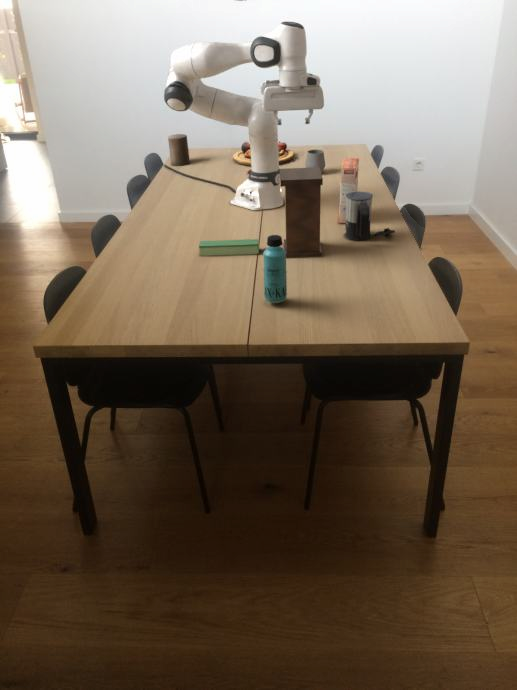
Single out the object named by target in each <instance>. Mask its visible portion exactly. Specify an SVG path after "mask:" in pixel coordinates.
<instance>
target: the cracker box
mask: <svg viewBox="0 0 517 690" xmlns="http://www.w3.org/2000/svg"><path fill="white" fill-rule="evenodd" d="M359 163H360V158H358V157H357V158H356V157H343V161H342V165H341V167H340V168H341V169H340V189H339V208H338V209H339V211H338V212H339V213H338V224H346V205H347V197H346V194H348V193H350V192H358V184H359V169H360V168H359V167H360V164H359Z"/></svg>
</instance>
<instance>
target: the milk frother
mask: <svg viewBox="0 0 517 690" xmlns="http://www.w3.org/2000/svg"><path fill="white" fill-rule="evenodd" d="M346 197H347V205H346V223H345V229H344V230H345V231H344V232H345V233H344V238H346V239H348V240H352V241H365V240H368V239H370V238H371V237H377V236H385V237H388V236H390V235H392V234H395V233H396V230H395V229H390V228H389V227H387V228H384V230H381V231H377V232H374V233H373V234H372V233H371V219H372V203H373V197H374V194H373V193H371V192H368V191H361V190H360V191H358V190H357V192H350V193H348V194H346Z"/></svg>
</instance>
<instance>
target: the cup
mask: <svg viewBox="0 0 517 690" xmlns="http://www.w3.org/2000/svg"><path fill="white" fill-rule="evenodd" d="M305 157H306V158H305V168H312V167H320V170H321V174H322V173H323V172H324V170H325V167H326V159H325V152H324V150H322V149H309V150H307V152H306V156H305Z"/></svg>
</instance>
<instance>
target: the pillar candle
mask: <svg viewBox="0 0 517 690" xmlns="http://www.w3.org/2000/svg"><path fill="white" fill-rule="evenodd" d="M167 140H168V149H169V158H170V164H171V165H172V166H176V167H180V166H188V165H190V161H191V160H190V152H189V142H188V136H187V134H186V133H185V134H184V133H176V134H171V135H168V136H167Z"/></svg>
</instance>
